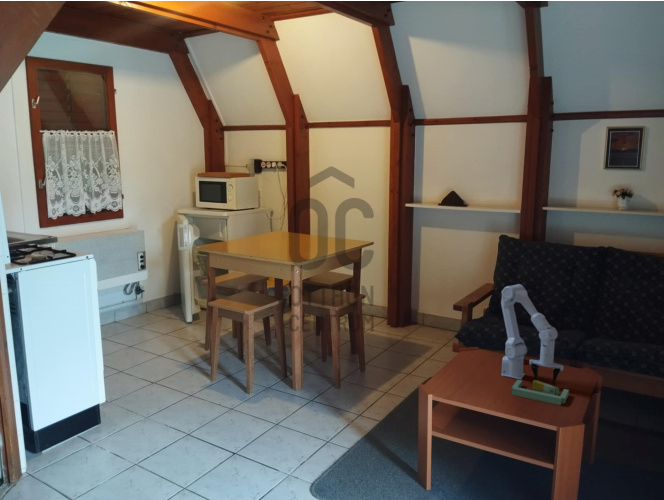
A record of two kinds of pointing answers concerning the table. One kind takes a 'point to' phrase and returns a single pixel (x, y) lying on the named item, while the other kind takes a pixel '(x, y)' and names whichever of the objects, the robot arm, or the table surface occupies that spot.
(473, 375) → the table surface
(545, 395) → the green u-shaped bracket
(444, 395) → the table surface
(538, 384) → the medication box
